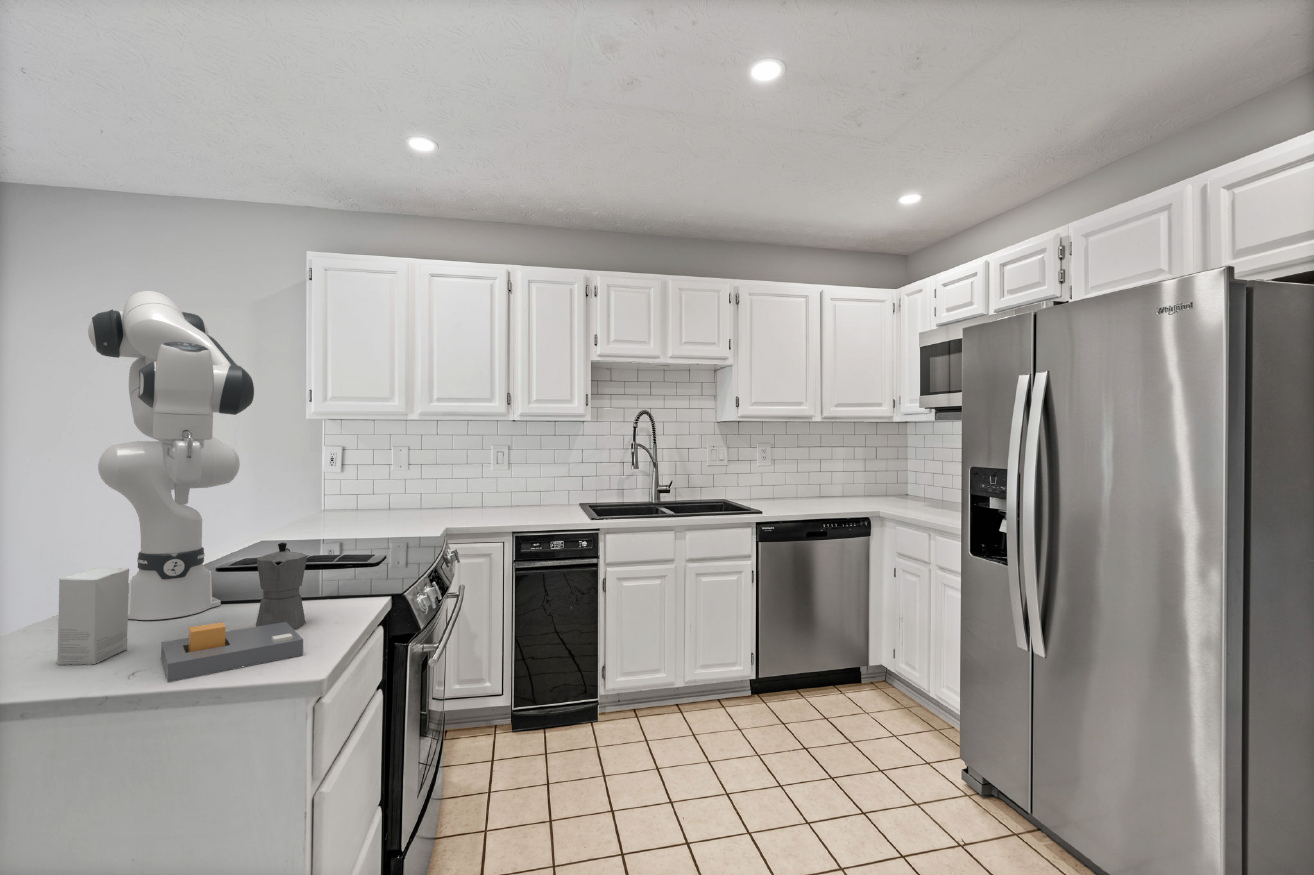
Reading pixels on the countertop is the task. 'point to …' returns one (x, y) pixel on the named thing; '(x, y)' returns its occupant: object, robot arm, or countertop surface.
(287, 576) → the coffeepot
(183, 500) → the robot arm
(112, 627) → the skincare box
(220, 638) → the plug
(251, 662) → the socket plate
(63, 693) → the countertop surface
